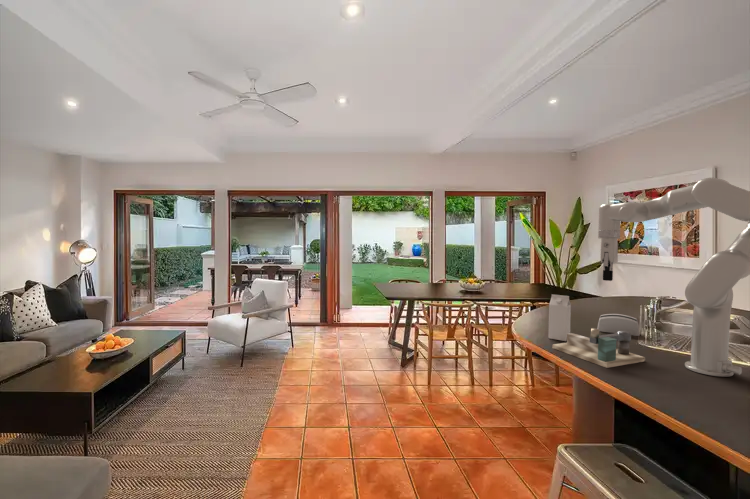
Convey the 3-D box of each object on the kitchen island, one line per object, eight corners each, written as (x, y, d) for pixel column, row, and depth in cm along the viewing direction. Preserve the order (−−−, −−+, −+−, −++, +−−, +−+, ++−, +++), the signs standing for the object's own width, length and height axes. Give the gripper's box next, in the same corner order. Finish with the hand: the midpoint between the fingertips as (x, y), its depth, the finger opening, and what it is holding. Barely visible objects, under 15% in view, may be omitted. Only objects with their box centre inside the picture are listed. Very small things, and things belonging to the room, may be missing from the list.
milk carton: (552, 335, 177) (553, 293, 176) (570, 338, 172) (571, 295, 171) (548, 338, 171) (549, 295, 170) (565, 341, 167) (567, 297, 166)
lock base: (644, 361, 142) (645, 336, 141) (606, 367, 135) (607, 342, 134) (587, 343, 164) (587, 322, 164) (552, 348, 157) (552, 325, 157)
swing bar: (622, 337, 149) (622, 323, 148) (633, 340, 145) (634, 326, 144) (586, 343, 142) (587, 328, 142) (597, 346, 138) (598, 330, 137)
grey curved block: (639, 333, 180) (640, 314, 176) (639, 339, 176) (640, 320, 173) (597, 328, 188) (597, 310, 185) (596, 334, 185) (597, 315, 181)
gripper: (617, 235, 149) (615, 283, 150) (622, 234, 161) (621, 279, 162) (594, 235, 154) (593, 281, 155) (601, 234, 165) (600, 277, 166)
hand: (607, 280), depth 158 cm, fingers closed
